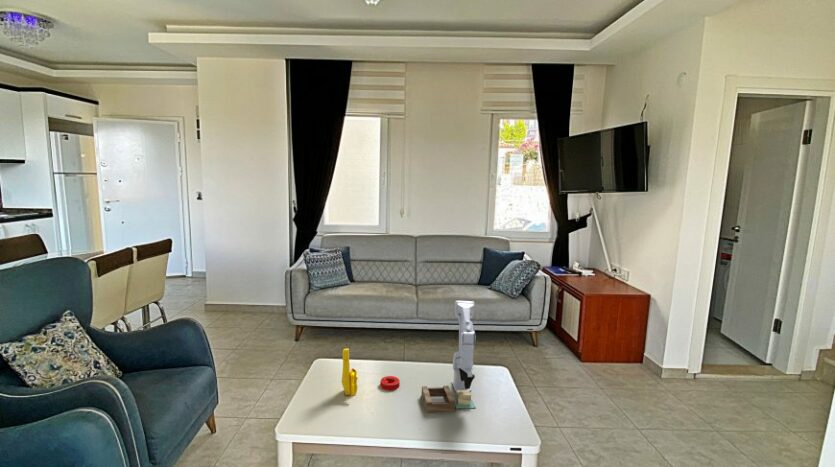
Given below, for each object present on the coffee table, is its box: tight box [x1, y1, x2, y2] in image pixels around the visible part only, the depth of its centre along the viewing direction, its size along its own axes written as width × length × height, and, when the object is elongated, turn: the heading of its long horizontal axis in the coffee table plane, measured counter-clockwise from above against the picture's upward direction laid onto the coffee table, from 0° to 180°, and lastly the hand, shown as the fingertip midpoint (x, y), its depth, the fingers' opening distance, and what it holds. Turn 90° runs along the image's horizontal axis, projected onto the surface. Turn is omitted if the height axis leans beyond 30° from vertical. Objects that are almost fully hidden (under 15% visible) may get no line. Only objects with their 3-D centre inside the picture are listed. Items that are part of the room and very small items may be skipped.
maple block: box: [455, 390, 472, 405], centre depth 197 cm, size 4×6×5 cm, turn 97°
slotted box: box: [421, 385, 456, 414], centre depth 196 cm, size 15×13×5 cm
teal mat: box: [454, 397, 477, 410], centre depth 197 cm, size 9×9×1 cm
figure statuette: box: [341, 348, 359, 397], centre depth 201 cm, size 18×8×22 cm, turn 7°
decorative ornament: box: [379, 375, 401, 391], centre depth 211 cm, size 10×10×3 cm
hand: (465, 384), depth 196 cm, fingers open, 7 cm apart
